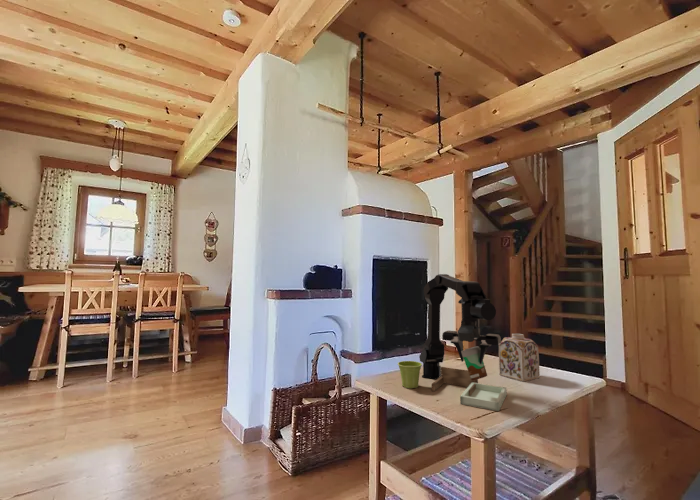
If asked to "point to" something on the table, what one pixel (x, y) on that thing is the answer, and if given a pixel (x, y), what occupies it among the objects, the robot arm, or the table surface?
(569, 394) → the table surface
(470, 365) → the food container
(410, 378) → the plant pot
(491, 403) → the tray
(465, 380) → the wooden pieces
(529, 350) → the decorative jar
